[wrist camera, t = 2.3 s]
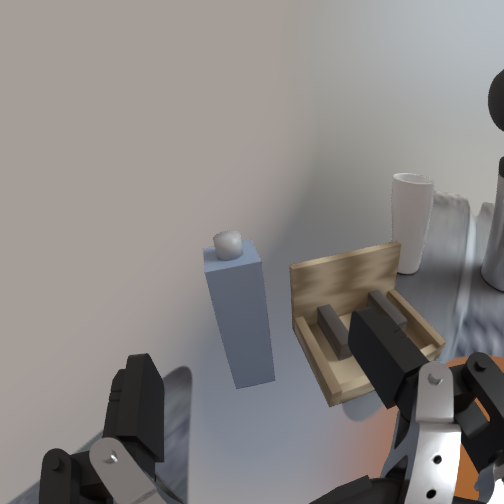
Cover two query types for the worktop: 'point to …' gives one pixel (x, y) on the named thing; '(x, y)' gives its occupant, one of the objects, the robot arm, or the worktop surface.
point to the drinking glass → (411, 217)
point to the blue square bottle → (240, 307)
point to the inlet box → (339, 314)
